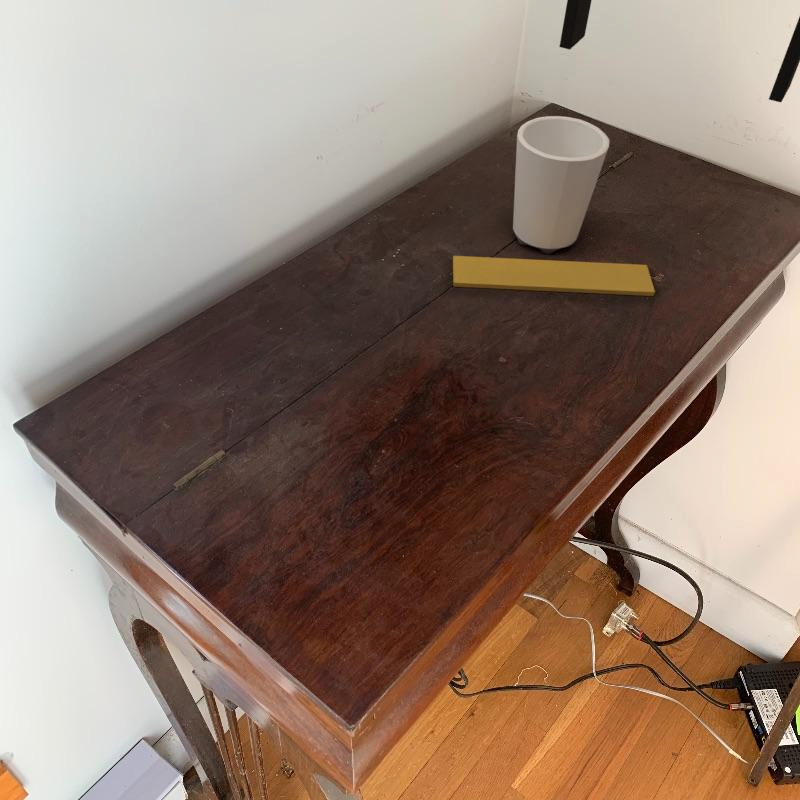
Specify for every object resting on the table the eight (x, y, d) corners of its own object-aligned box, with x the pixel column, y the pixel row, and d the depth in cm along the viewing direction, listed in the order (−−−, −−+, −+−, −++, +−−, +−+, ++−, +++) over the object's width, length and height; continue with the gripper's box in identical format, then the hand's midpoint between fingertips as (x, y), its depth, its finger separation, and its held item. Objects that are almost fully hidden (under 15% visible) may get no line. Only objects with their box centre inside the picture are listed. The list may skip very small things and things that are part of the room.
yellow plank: (645, 269, 91) (647, 264, 91) (653, 296, 88) (655, 292, 88) (452, 259, 91) (453, 255, 91) (453, 286, 88) (453, 282, 88)
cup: (580, 215, 99) (602, 117, 90) (592, 263, 92) (617, 161, 83) (499, 212, 99) (513, 113, 89) (505, 259, 92) (521, 158, 83)
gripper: (1114, -386, 35) (885, 93, 50) (572, -412, 43) (517, 5, 58) (1125, -385, 30) (868, 143, 45) (514, -415, 38) (471, 40, 53)
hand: (671, 66), depth 52 cm, fingers open, 13 cm apart
